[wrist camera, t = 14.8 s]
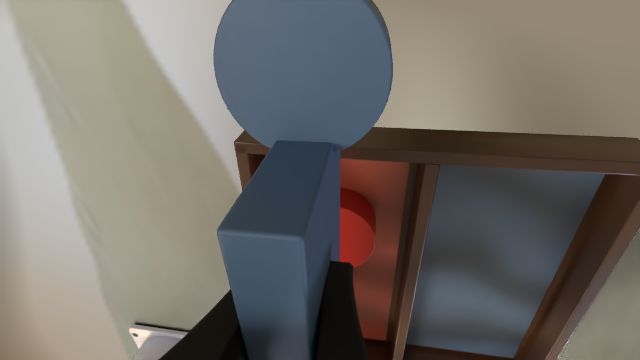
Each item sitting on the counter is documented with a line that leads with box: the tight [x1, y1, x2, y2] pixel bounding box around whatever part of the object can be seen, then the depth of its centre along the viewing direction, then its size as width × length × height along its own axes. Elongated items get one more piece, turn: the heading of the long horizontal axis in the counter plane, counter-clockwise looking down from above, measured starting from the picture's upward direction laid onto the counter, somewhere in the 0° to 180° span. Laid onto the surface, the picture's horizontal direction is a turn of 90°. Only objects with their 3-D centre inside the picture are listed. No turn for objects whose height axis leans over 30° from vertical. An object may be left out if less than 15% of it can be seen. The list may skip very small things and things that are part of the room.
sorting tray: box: [234, 127, 640, 360], centre depth 19 cm, size 17×18×2 cm
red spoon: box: [340, 188, 376, 268], centre depth 19 cm, size 13×4×6 cm, turn 2°
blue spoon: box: [214, 0, 393, 360], centre depth 9 cm, size 13×4×6 cm, turn 2°
